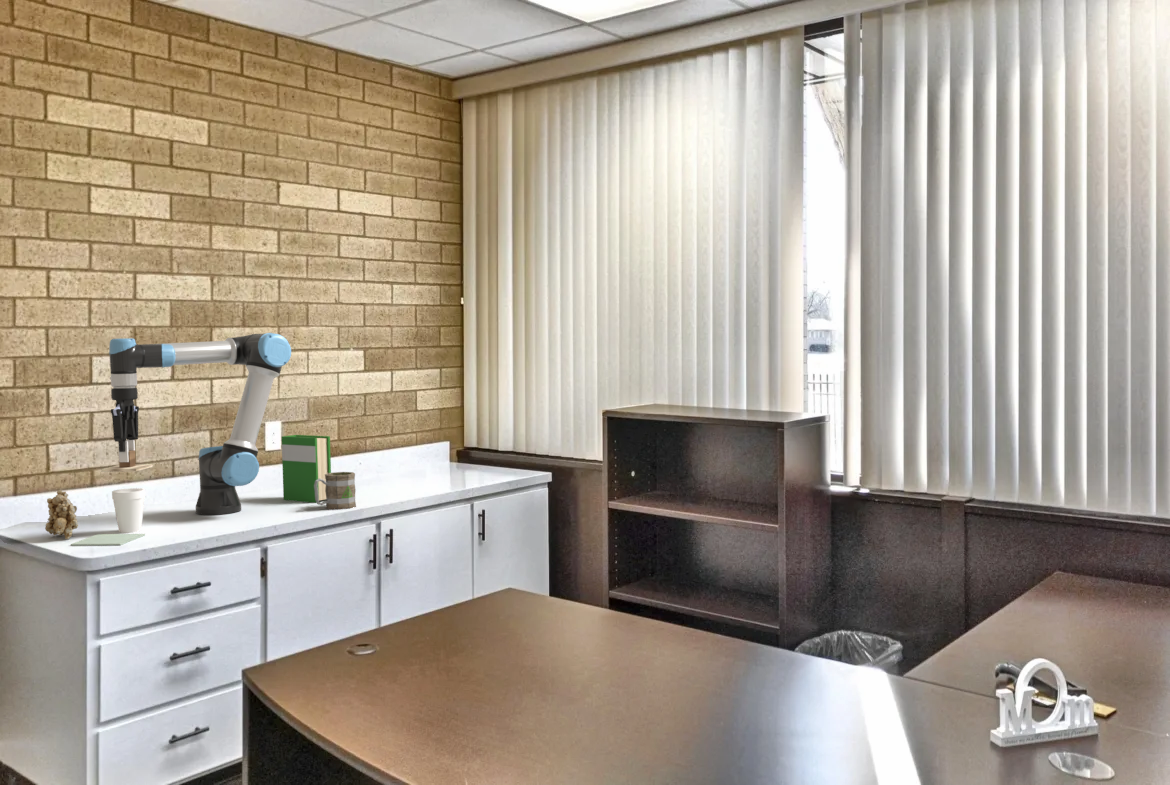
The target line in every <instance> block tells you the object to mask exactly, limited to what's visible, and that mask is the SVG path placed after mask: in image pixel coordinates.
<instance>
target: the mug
mask: <svg viewBox="0 0 1170 785" xmlns="http://www.w3.org/2000/svg"><path fill="white" fill-rule="evenodd" d="M355 477H356V473H355V472H353V471H352V472H351V471H338V472H337V471H335V472H331V473H328V474H325V479H326V482H325V481H324V480H323V479H320V478H319V479H317V480H316V481H315V483H314V490H315V500H316V502H317V503H316V505H319V506H323V505H325V509H327V510H335V511H336V510H337V511H338V510H347V509H348V510H350V509H354V508H357V505H356V504H357V502H356V483H355V481H356V479H355ZM319 481H321V482H322V483H324V484H325V485H326V489H325V492H326V500H323V501H322V502H320V500H319V497H318V488H317V485H318V482H319ZM353 507H354V508H353Z"/></svg>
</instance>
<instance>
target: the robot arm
mask: <svg viewBox="0 0 1170 785" xmlns="http://www.w3.org/2000/svg"><path fill="white" fill-rule="evenodd" d="M108 349H109V350H108V353H109V354H108V355H109V367H110V376H109V379H110V386H111V387H112V388H111V390H110V393H111V394H110V395H111V400H112V401H115V408H111V409H110V414H111V417H112V428H113V430H112V431H113V440H114V442H116V443H117V442H118V444H117V446H118V463H119V462H129V454H128V450H135V451H136V444H135V443H136V442H135V441H136V440H138V439H139V413H140V412H139V411H140V407H139V406H136V405H135V402H134V401H135V400H137V399H138V396H139V395H138V388H137V386H138V376H137V375H138V374H137V373H138V372H137V371H138V370H137V369H141V368H143V369H145V368H146V369H150V368H151V369H152V368H163V369H165V368H171V367H172V366H181V365H182V366H183V365H198V364H199V365H201V364H218V363H226V364H228V365H230V366H232V365H233V366H235V365H237V366H238V365H242V366H245V368H246V370H247V372H248V374H247V377H246V381H245V384H244V388H243V392H242V396H241V399H240V402H239V406H238V409H237V413H236V417H235V420H234V423H233V427H232V430H231V434H230V438H229V439H227V440H226V441H224V442H223V444H222V445H219V446H217V445H216V446H209V447H202V448H200V449H199V451H198V466H199V467H198V468H199V470H198V471H199V489H200V490H199V494H198V498H197V501H196V504H195V514H197V515H201V516H202V515H203V516H205V515H207V516H209V515H210V516H212V515H213V516H215V515H226V514H232V513H237V512H240V511H242V502H241V500H240V497H239V495H238V493H237V492H238V491H237V490H236V487H245V486H247V485H249V484H250V483H251V482H253V481H254V480H255V479H256V478H257V476H258V474H259V471H260V463H259V461H258V458H257V456H258V453H259V449H258V448H257V446H256V443H257V440H258V437H259V433H260V430H261V426H262V422H263V419H264V415H265V413H266V408H267V404H268V400H269V397H270V394H271V390H272V387H273V384H274V380H275V378H278V377H279V376H280V375H281V371H282V367H284V366H285V365H286V364H288V363H289V361H290V359H291V356H292V348H291V345H290V343H289V341H288V339H287V338H286V337H284V335H281V334H279V333H274V332H266V333H253V334H252V333H251V334H247V335H243V336H241V335H240V336H236V337H228V338H226V339H225V340H212V341H210V340H209V341H190V342H187V341H186V342H169V343H168V342H167V343H146V344H145V343H143V344H137V342H136V339H135V338H129V337H128V338H112V339H110V341H109V348H108Z"/></svg>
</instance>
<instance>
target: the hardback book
mask: <svg viewBox="0 0 1170 785" xmlns="http://www.w3.org/2000/svg"><path fill="white" fill-rule="evenodd" d="M281 456H282V457H281V462H282V464H281V465H282V489H283V490H282V491H283V501H291V502H302V503H313V504H317V502H316V500H315V490H314V483H315V481H316V480H317V479H319V478H320V479H323V480H324V481H325V482H326V479H325V474H328V473H332V460H331V459H332V458H331V457H332V456H331V436H330V435H329V436H328V435H308V434H292V435H283V436H281ZM317 488H318V497H319V501H326V492H325V489H326V485H325V484H324V483H322V482H321V481H319V482H318V485H317Z"/></svg>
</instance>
